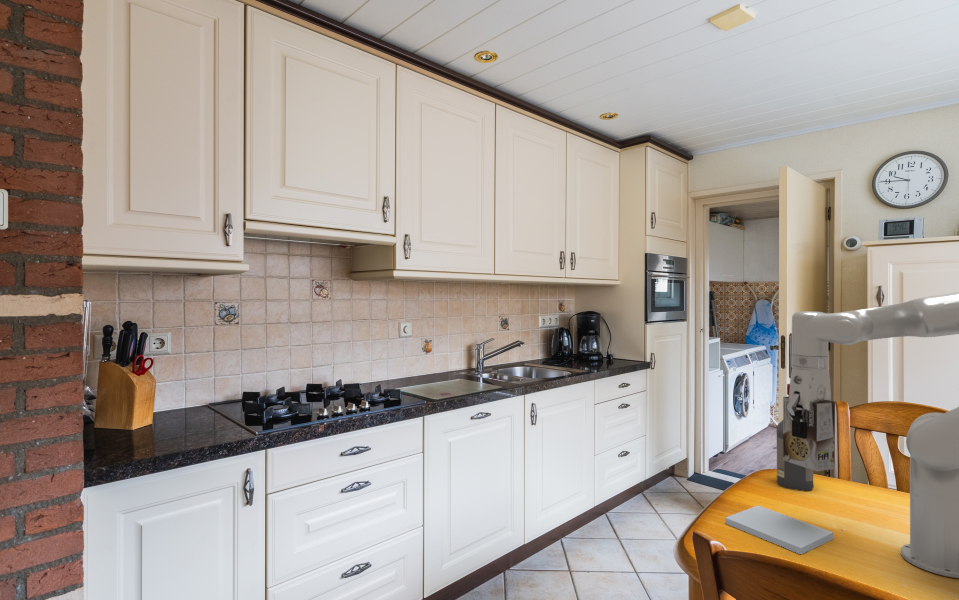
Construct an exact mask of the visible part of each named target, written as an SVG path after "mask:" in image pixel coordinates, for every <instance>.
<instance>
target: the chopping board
mask: <svg viewBox="0 0 959 600" xmlns="http://www.w3.org/2000/svg"><path fill="white" fill-rule="evenodd" d="M724 524H725V525H728V526H730V527H733V528H734V529H738V530H740V531H742V532H744V531H745V533H747V534H749V535H752V536H754V537H757V538H759V539H761V538H762V539H761V540H764V541H766V540H767V542H769V543H771V542H773V543H774V545H776V544H777V545H776V546H778V545H780V546H779V547H781V546H782V547H781V548H783V547H784V548H783V549H785V548H786V550H788V551H791V552H793V553H795V552H796V553H795V554H798V555H800V554H802V555H804V554H806V553H808V552H810V551H811V550H813V549H815V548H817V547H820V546H822V545H824V544H826V543H828V542H830V541H832V540H834V532H833V531H830V530H828V529H824V528H822V527H820V526H816V525H814V524H812V523H808V522H806V521H802V520H800V519H797V518H794V517H793V516H792V517H791V516H789V515H786V514H783V513H781V512H777V511H775V510H772V509H769V508H766V507H764V506H761V505H755V506H753V507H750V508H748V509H744V510H742V511H739V512H737V513H734V514H731V515H729V516H726V517H725V518H724ZM773 543H772V544H773ZM807 551H808V552H807ZM805 552H806V553H805ZM803 553H804V554H803Z"/></svg>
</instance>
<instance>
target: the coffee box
mask: <svg viewBox="0 0 959 600" xmlns="http://www.w3.org/2000/svg"><path fill="white" fill-rule="evenodd" d="M782 398H783V399H782V405H783V406H782V414H783V415H782V416H783V417H782V420H783V460H784V461H787V462H790V463H793V464H796V465H799V466H802V467H805V468H808V469H811V470H813V472H814V471H815V472H820V471H828V470H829V471H830V470H834V469H835V456H836V455H835V450H836V449H835V438H836V437H835V431H836V430H835V429H836V428H835V427H836V401H834V400H831V401H830V400H823V401H819V402H815V403H813V411H811V412H809V411H807V415H806V419H805V422H807V438H806V439H802V438H798V437H794V436H792V420H791V416H790V414H789V411H788V409H787V405H788V403H789V395H787V396H783V397H782ZM797 407H799V408H803V406H802V405H797ZM798 412H799V413H800V415H801V414H802V412H801V411H798Z"/></svg>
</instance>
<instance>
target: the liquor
mask: <svg viewBox="0 0 959 600" xmlns="http://www.w3.org/2000/svg"><path fill="white" fill-rule="evenodd" d="M789 390H790V383H787V384H786V396H789ZM776 426H777V427H776V482H777V485H778V486H780V487H783V488H785V489H788V490H789V489H790V490H795V489H797V490H796V491H801V490H804V491H803V492H808V491H807V490H809V491H812V490H814V470H811V469H808V468H805V467H802V466H799V465H796V464H793V463H790V462H787V461H784V460H783V419H782V420H781V421H780V422H779V423H778V424H777V425H776Z"/></svg>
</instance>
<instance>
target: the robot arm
mask: <svg viewBox="0 0 959 600" xmlns="http://www.w3.org/2000/svg"><path fill="white" fill-rule="evenodd" d="M953 335H954V336H955V335H959V292H952V293H945V294H940V295H939V294H938V295H933V296H925V297H920V298H913V299H911V300H908V301H904V302H899V303H895V304H889V305H883V306H876V307H875V306H874V307H870V308H864V309H856V310H847V311H841V312H833V313H832V312H831V313H830V312H829V313H827V312H822V311H812V310H811V311H810V310H809V311H808V310H807V311H805V310H804V311H803V310H802V311H801V310H800V311H795V312H794V313H793V314H792V316H791V350H790V351H791V353H790V354H791V355H790V356H791V359H790V360H791V362H790V363H791V364H790V365H791V366H790V367H791V368H792V369H791V372H790V381H789V384H790V390H789V395H788V396H789V403H788V405H787V409H788V411H789V414H790V416H791V420H792V436H794V437H798V438H802V439H806V438H807V422H805V419H806V415H807V411H809V412H811V411H813V403H815V402H819V401H823V400H830V401H832V390H831V377H830V371H829V343H832V344H838V345H845V346H849V345H850V346H851V345H855V344H858V343H860V342H865V341H873V340H881V339H889V338H898V337H899V338H901V337H902V338H904V337H917V338H934V337H935V338H936V337H945V336H953ZM797 405H802V406H803V408H799V407H797ZM798 411H801V412H802V414H801V415H800V413H799V412H798ZM905 446H906V449H907V451H908V453H909V543H906V544H904V545H902V546H901V547H900V555H901V557H902V558H903V559H904V560H906V561H907V562H908V563H910V564H912V565H913V566H914V567H916V568H919V569H922V570H924V571H926V572H930V573H933V574H936V575H939V576H943V577H949V578H953V579H954V578H955V579H959V406H957V407H955V408H953V409H951V410H949V411H946V412H944V413H943V412H928V413H924V414H922V415H919V416H917V418H915V419H914V420H913V422H911V425H910V427H909V429H908V432H907V434H906V437H905Z"/></svg>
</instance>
